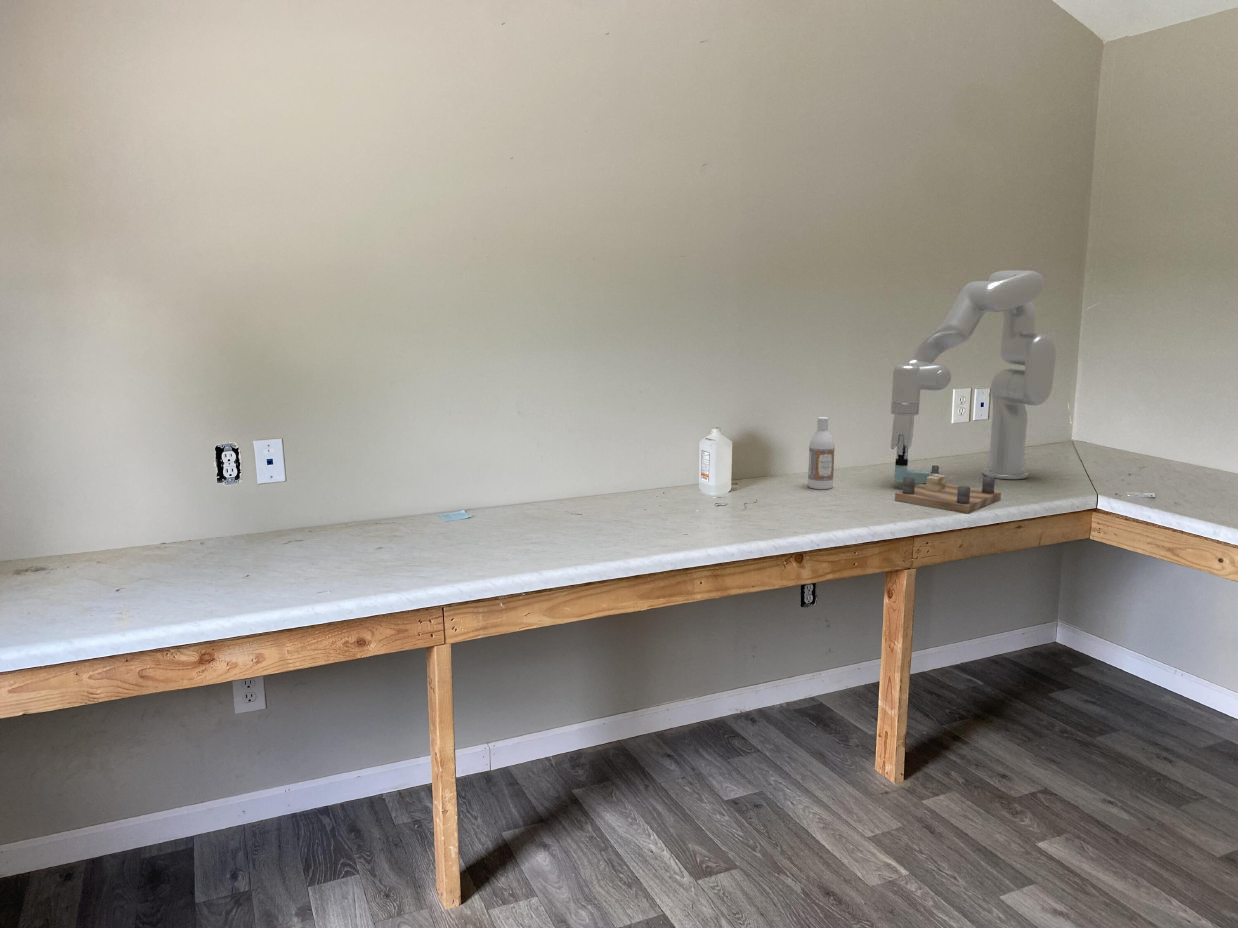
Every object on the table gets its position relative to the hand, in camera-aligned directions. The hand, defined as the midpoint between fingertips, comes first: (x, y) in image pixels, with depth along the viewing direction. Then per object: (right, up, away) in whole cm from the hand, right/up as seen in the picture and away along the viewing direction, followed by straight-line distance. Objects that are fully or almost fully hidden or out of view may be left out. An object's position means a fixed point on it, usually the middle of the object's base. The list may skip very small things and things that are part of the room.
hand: (901, 472), depth 260 cm
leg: (+3, -2, -4) cm, 6 cm away
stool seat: (+8, -7, -16) cm, 19 cm away
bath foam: (-23, -4, 0) cm, 23 cm away
